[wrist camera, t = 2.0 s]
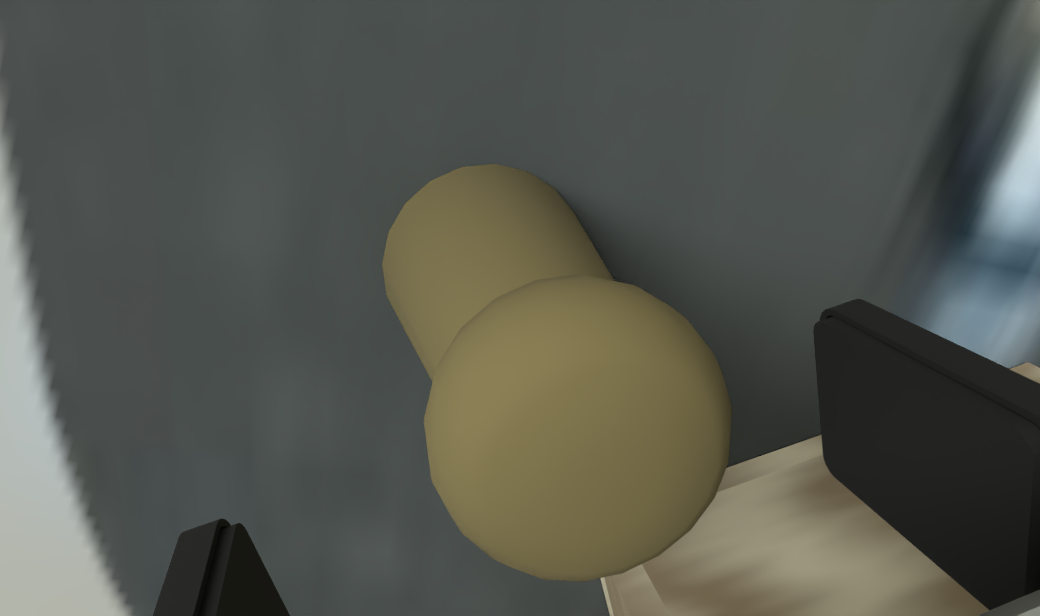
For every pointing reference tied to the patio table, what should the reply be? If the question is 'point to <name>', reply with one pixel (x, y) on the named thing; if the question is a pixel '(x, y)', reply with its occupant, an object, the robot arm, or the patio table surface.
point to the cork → (551, 381)
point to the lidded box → (790, 552)
